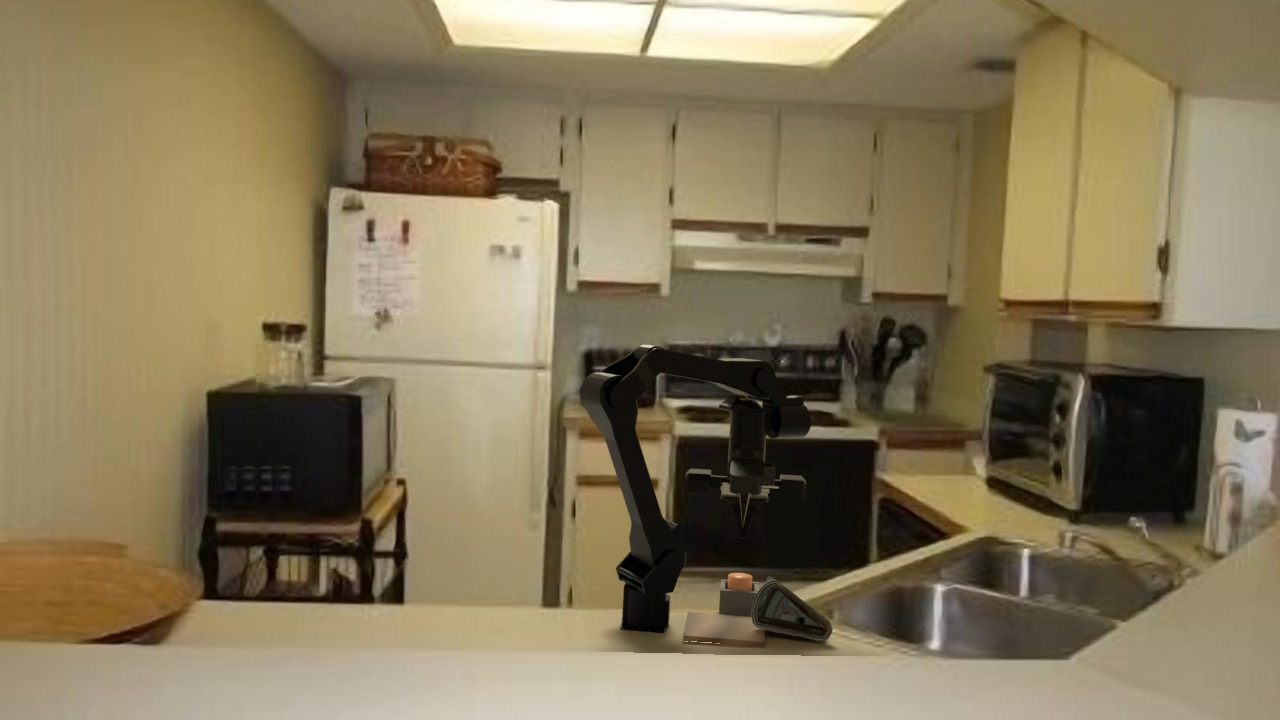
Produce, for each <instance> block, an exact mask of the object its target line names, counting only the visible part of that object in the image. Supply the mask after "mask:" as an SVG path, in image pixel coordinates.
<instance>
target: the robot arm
mask: <svg viewBox="0 0 1280 720" xmlns="http://www.w3.org/2000/svg"><path fill="white" fill-rule="evenodd" d="M775 371H776V370H775V368H774V366H773V364H772V363H770V361H767V360H760V359H751V358H744V357H743V358H742V357H734V358H733V357H732V358H731V357H730V358H729V357H728V358H717V359H716V358H713V357H707V356H703V355H697V354H692V353H686V352H682V351H677V350H673V349H666V348H664V347H662V346H659V345H653V344H641V345H639V346H637V347H636V348H634V349H633V350H632V351H631V352H630V353H628V354H627V355H625V356H622V357H621V358H620V359H617V360H616V361H614V362H612V363H610V364H609V365H607V366H606V367H604V368H603V369H602V370H600V371H596V372H592V373H591V374H589V375H587V376H586V377H585V379H584V380H583V382H582V384H581V386H580V387H579V398H580V401H581V403H582V405H583V407H584V409H585V410H586V412H587V415H588V417H589V418H590V420H591V421H592V422H593V423H594V424H595V426H596V428H597V429H598V430H599V432H600V433H601V434H602V436H603V438H604V441H605V443H606V446H607V449H608V452H609V456H610V459H611V462H612V465H613V469H614V471H615V475H616V477H617V480H618V484H619V487H620V491H621V493H622V497H623V500H624V503H625V506H626V509H627V512H628V515H629V518H630V524H631V526H630V531H629V538H628V540H629V542H628V543H629V548H630V551H629V552H628V554H626V556H625V557H624V558H623V559H622V560H621V561H620V562H619V563H618V565H617V566H616V568H615V571H616V574H617V579H618V581H620V582H623V583H624V586H623V593H622V594H623V597H622V613H621V624H620V626H619V630H621V631H627V632H628V631H629V632H642V633H654V634H664V632H665V631H666V628H668V627H669V626H670V618H671V617H670V614H671V600H672V599H671V597H672V596H671V595H669V594H670V593H674V591H675V588H676V585H677V582H678V580H679V577H680V575H681V573H682V571H683V569H684V566H685V565H686V563H687V555H686V554H687V553H686V552H685V551H689V547H688V546H687V545H686V544H685V541H684V538H683V529H682V527H681V526H680V524H677V523H676V522H673V521H671V520H667V519H665V518H664V517H663V514H662V510H661V507H660V504H659V502H658V498H657V494H656V491H655V488H654V484H653V482H652V479H651V475H650V472H649V469H648V465H647V462H646V459H645V455H644V452H643V449H642V446H641V443H640V439H639V437H638V433H637V422H638V415H639V406H638V405H639V404H638V401H637V400H638V398H639V397H641V396H642V395H643V394H644V393H645V392H647V391H648V390H649V388H650V386H651V384H652V383H653V382H654V381H655V378H656V377H657V376H659V375H660V374H663V375H664V374H665V375H670V376H675V377H680V378H681V377H682V378H686V379H691V380H698V381H704V382H709V383H711V384H713V385H715V386H718V387H719V388H721V389H724V390H726V391H728V392H730V393H733V394H729V395H728V396H727V398H726V399H724V400H723V401H722V402H720V404H719V405H718V409H719V410H723V411H729V412H730V421H729V422H730V423H729V439H728V457H727V468H726V476H724V475H713V474H712V469H703V468H702V469H701V468H689V469H688V470H687V471H686V473H685V476H684V490H683V491H684V492H689V493H690V492H691V493H692V492H693V493H704V494H705V492H707V491H708V490H709V489H710V488H720V492H721V493H720V498H721V500H726V501H727V502H728V504H729V507H730V508H731V511H732V514H733V518H734V521H735V525H736V530H737V533H738V536H739V539H743V540H745V539H746V536H747V534H748V531H749V529H750V526H751V523H752V521H753V518H754V516H755V513H756V512H757V510H758V508H759V507H760V505H761V504H762V503H768V502H769V495H768V494H770V492H776V493H777V492H779V493H780V494H781V495H782V496H783V497H784V498H785V499H793V500H794V499H795V500H807V485H808V484H807V482H806V479H805V478H804V477H803V475H795V474H794V475H793V474H780V475H779V479H776V468H777V467H776V462H771V461H769V462H766V447H767V437H768V438H769V439H774V440H775V439H801V438H804V437H806V436H807V435H808V434H809V432H810V431H811V427H812V418H811V414H810V411H809V409H808V407H807V406H806V405H805V404H804V402H805V397H804V396H800V395H786V393H785V392H784V390H783V388H782V386H781V384H780V383H779V380H778V379H777V377H776V376H777V375H776V372H775ZM734 394H737V395H734ZM739 395H742V396H744V397H745V398H746V399H741V398H740V396H739ZM759 402H762V404H761V405H760V404H759ZM741 494H748V496H747V501H746V505H745V506H746V507H745V508H746V509H745V513H744V516H743V515H742V512H743V511H742V503H741V501H742V500H741V499H742V498H741ZM743 517H744V519H743Z"/></svg>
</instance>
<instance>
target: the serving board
mask: <svg viewBox="0 0 1280 720" xmlns="http://www.w3.org/2000/svg"><path fill="white" fill-rule="evenodd" d="M683 629H684V631H683V635H682V642H683V641H688V642H691V641H697V642H712V643H720V644H727V645H726V646H736V645H739V646H740V647H752V646H759V647H758V648H765V647H766V645H765V644H766V638H765V630H764V629H761V628H757V627H756V626H755V625H754V624H753V622H752V618H751V617H748V616H736V615H723V614H719V613H710V612H709V613H708V612H697V611H687V614H686V619H685V624H684V628H683ZM688 642H687V643H688ZM720 644H719V645H720Z"/></svg>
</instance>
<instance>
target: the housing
mask: <svg viewBox="0 0 1280 720" xmlns="http://www.w3.org/2000/svg"><path fill="white" fill-rule="evenodd" d="M759 583H760V582H758V581H752V591H742V590H729V589H727V588H728V579H720V587H719V588H720V589H719V609H718V614H723V615H736V616H748V617H751V611H752V605H753V604H752V603H753V601H754V599H755V597H756V594H757V592H758V591H759V590H760V584H759Z"/></svg>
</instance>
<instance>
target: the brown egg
mask: <svg viewBox="0 0 1280 720" xmlns="http://www.w3.org/2000/svg"><path fill="white" fill-rule="evenodd" d="M727 580H728V588H727V589H729V590H742V591H752V582H753V576H752V575H751V574H749V573H744V572H731V573H728V576H727Z"/></svg>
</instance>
